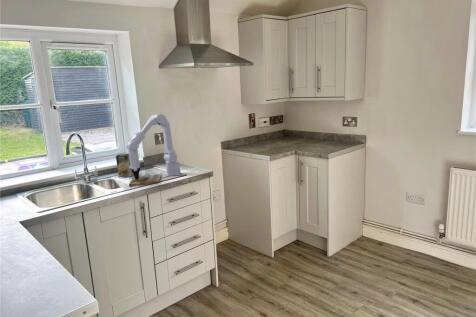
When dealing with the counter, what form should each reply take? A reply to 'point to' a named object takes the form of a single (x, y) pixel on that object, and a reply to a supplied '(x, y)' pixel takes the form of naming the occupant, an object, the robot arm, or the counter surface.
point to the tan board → (152, 180)
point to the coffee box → (123, 165)
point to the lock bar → (141, 177)
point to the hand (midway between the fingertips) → (137, 179)
